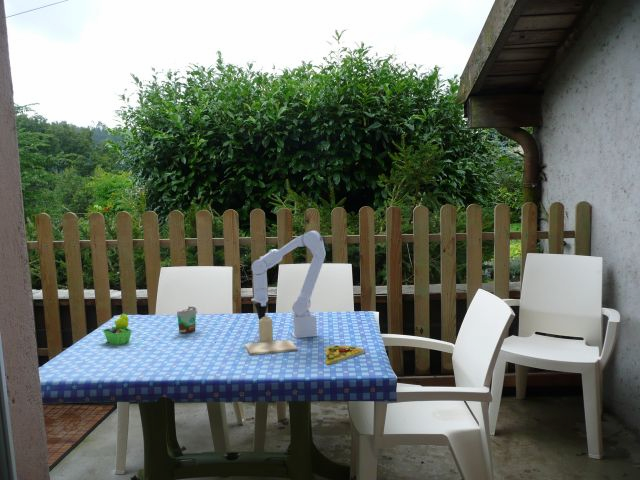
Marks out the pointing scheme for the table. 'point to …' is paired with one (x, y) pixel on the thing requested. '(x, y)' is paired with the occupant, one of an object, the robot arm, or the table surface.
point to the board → (270, 347)
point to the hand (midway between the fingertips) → (261, 320)
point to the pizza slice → (341, 353)
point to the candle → (265, 329)
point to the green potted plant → (119, 331)
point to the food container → (187, 320)
